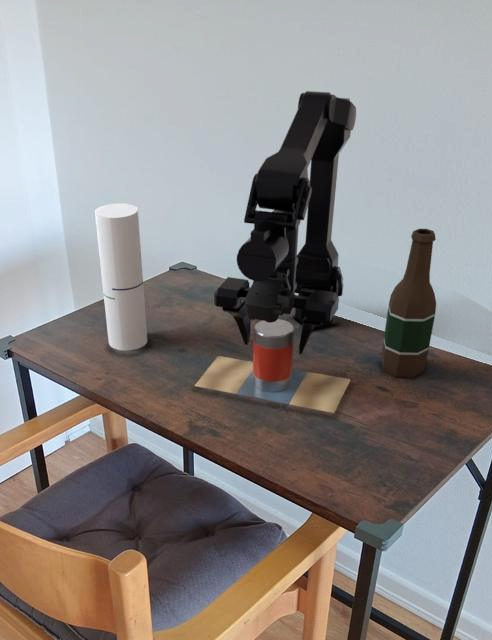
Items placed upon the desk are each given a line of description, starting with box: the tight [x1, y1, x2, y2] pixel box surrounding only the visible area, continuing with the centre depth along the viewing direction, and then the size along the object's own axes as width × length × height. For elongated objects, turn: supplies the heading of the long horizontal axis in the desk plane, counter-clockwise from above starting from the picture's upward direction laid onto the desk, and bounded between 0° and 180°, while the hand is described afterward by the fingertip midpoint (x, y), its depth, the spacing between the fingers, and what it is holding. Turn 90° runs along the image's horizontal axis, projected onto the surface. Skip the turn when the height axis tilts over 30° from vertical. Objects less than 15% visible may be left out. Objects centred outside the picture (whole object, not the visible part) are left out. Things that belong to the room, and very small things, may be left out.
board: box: [194, 355, 352, 414], centre depth 126 cm, size 24×11×1 cm, turn 68°
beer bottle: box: [380, 228, 437, 379], centre depth 124 cm, size 8×8×24 cm
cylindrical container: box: [94, 202, 148, 352], centre depth 132 cm, size 7×7×25 cm
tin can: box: [252, 318, 295, 392], centre depth 123 cm, size 6×6×10 cm
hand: (273, 348), depth 122 cm, fingers open, 9 cm apart
